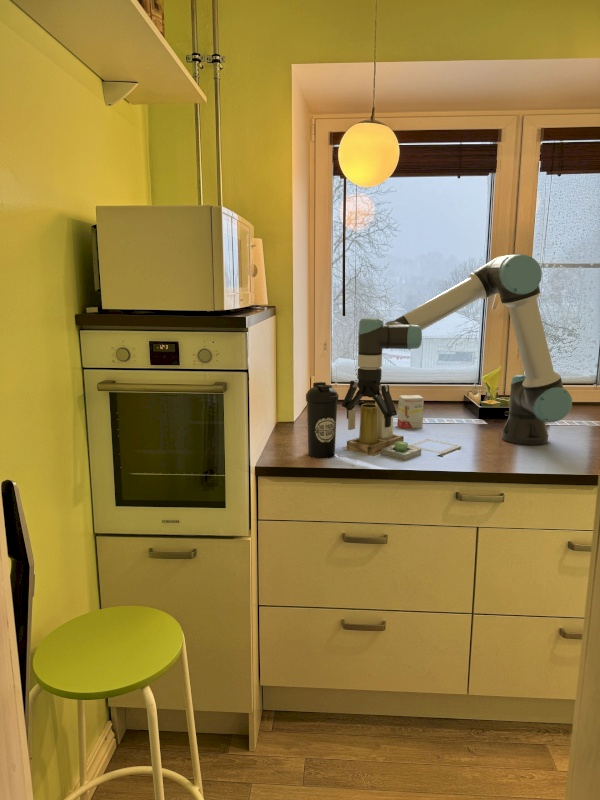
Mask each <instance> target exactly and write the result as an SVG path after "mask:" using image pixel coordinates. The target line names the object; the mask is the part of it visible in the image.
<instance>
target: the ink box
mask: <svg viewBox="0 0 600 800" xmlns="http://www.w3.org/2000/svg"><path fill="white" fill-rule="evenodd" d="M424 400H425V398H424V397H423V396H421V395H420V394H415V395H414V394H413V395H412V394H410V395H409V394H407V395H405V394H404V395H399V396H398V407H397V408H398V409H397V426H398V427H399V428H400V429H422V428H423V424H424V403H425V402H424Z"/></svg>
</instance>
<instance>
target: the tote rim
mask: <svg viewBox="0 0 600 800" xmlns="http://www.w3.org/2000/svg"><path fill="white" fill-rule="evenodd" d="M428 441H432V442H436V443H440V444H444V445H449V446H452V447H448V448H445V449H444V450H441V451H437V450H432V449H428V448H424V447H419V446H416V445H419V444H422V443H425V442H428ZM408 446H411V447H415V448H419V449H421V450H424V451H428V452H433V453H437V454H438V455H436V457H439V458H444V456H445V455H449V454H451V453H454V452H456V451H461V450H462V446H461V445H457V444H453V443H448V442H444V441H439V440H434V439H430V438H426V439H424V440H421V441H419V442H415V443H413V444H408Z"/></svg>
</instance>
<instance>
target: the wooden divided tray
mask: <svg viewBox="0 0 600 800" xmlns="http://www.w3.org/2000/svg"><path fill="white" fill-rule="evenodd" d="M398 441H402V442H404V435H399V434H394V433H393V439H389V440H381V439H377V444H373V445H370V446H369V445H365V444H361V443H359V437H356V438H354V439H353V438H352V439H348V440H346V446H343V447H342V449H345V450H348V451H352V452H356V453H360V454H363V455H367V456H371V457H375V456H378V455H381V449H382V448H385V447H388V446H391V445H394V444H395V442H398Z"/></svg>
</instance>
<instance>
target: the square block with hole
mask: <svg viewBox="0 0 600 800" xmlns="http://www.w3.org/2000/svg"><path fill="white" fill-rule="evenodd" d="M380 455H381V456H384V457H388V458H392V459H395V460H396V459H397V460H400V461H404V462H405V461H409V460H410V459H413V458H415V457H419V456H422V449H419V448H415V447H411V446H408V450H407V451H397V450H395V444H394V445H391V446H388V447H385V448H382V449H381V454H380Z"/></svg>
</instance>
